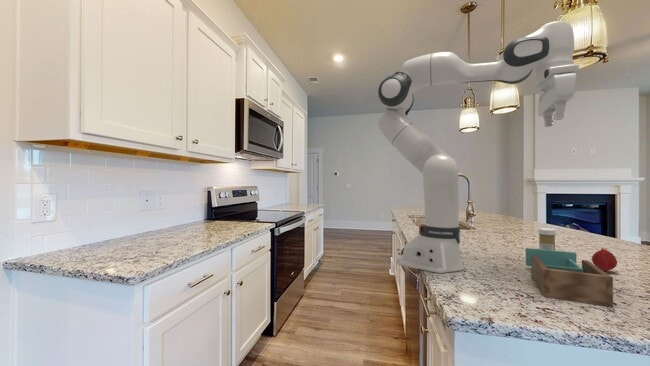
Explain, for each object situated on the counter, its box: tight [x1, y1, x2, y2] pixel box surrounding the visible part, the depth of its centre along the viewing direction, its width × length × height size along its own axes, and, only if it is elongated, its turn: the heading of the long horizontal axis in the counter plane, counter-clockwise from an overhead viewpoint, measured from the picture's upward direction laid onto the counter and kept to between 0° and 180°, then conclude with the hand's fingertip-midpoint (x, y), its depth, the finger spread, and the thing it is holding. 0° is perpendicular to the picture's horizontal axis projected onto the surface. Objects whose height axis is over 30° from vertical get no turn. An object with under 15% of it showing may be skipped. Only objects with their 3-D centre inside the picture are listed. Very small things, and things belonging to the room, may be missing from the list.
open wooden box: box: [531, 255, 614, 308], centre depth 75 cm, size 13×16×7 cm
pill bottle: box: [538, 227, 557, 250], centre depth 95 cm, size 5×5×14 cm
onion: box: [591, 246, 618, 273], centre depth 90 cm, size 6×6×8 cm
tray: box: [525, 247, 584, 273], centre depth 85 cm, size 13×14×6 cm
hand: (553, 123), depth 83 cm, fingers open, 8 cm apart
